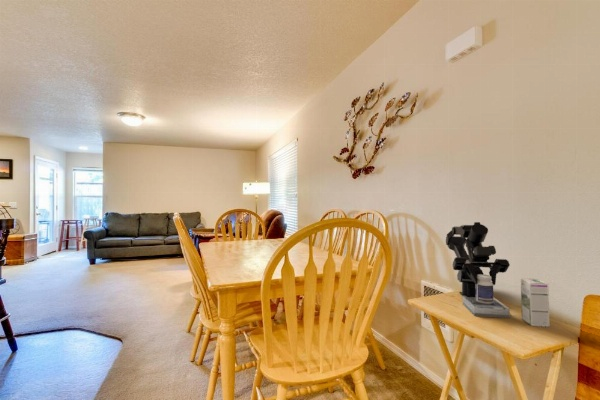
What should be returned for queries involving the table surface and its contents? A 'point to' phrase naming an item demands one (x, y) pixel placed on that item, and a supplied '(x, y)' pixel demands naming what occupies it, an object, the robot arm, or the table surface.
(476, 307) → the tray
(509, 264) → the robot arm
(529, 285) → the syrup box
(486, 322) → the table surface
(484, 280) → the pill bottle
